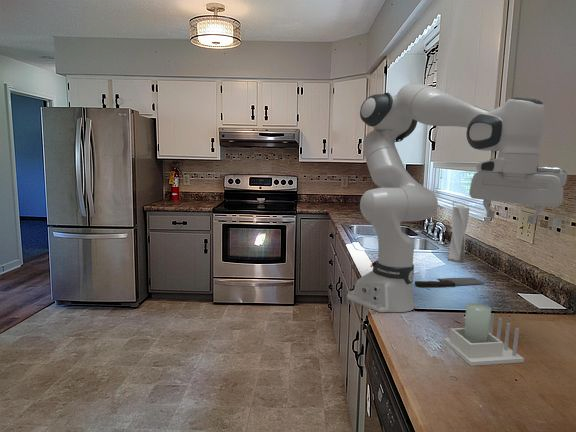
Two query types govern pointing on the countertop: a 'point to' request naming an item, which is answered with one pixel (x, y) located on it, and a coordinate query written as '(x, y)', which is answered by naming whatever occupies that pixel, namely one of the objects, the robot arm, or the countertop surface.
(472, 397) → the countertop surface
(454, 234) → the skyscraper
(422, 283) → the cleaver
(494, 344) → the dish rack
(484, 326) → the sage green cylinder
